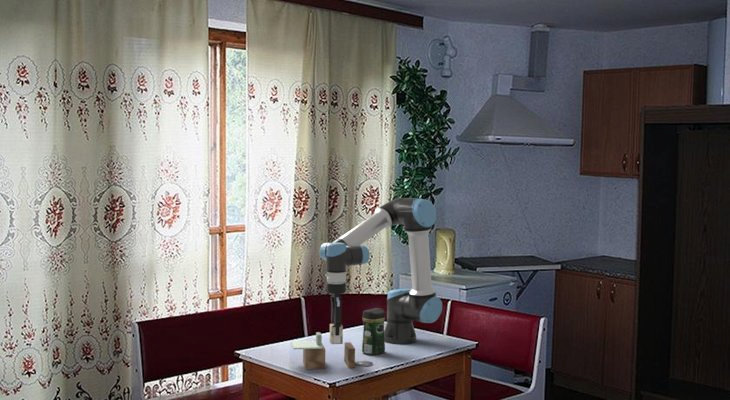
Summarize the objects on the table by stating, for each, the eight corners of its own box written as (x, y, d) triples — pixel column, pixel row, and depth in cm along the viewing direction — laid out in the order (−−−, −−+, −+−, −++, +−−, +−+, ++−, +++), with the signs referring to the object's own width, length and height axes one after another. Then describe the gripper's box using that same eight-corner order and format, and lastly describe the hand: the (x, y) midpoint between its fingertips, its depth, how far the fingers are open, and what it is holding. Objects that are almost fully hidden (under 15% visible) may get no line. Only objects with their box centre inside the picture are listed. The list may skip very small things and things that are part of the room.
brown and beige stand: (350, 360, 315) (350, 342, 315) (354, 367, 304) (355, 348, 304) (302, 362, 312) (303, 343, 312) (305, 369, 301) (305, 349, 301)
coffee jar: (373, 349, 336) (374, 306, 335) (387, 352, 330) (388, 308, 329) (358, 353, 328) (359, 308, 328) (372, 356, 323) (373, 311, 322)
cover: (319, 342, 313) (319, 330, 313) (322, 348, 302) (322, 336, 301) (291, 342, 311) (291, 331, 311) (293, 349, 300) (293, 337, 299)
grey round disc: (371, 361, 314) (371, 360, 314) (374, 366, 308) (374, 365, 308) (353, 362, 313) (353, 361, 313) (356, 366, 306) (356, 365, 306)
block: (341, 341, 311) (341, 323, 311) (342, 343, 307) (342, 326, 306) (329, 341, 310) (329, 323, 310) (331, 344, 306) (331, 326, 305)
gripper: (324, 279, 315) (323, 336, 316) (329, 286, 298) (329, 347, 299) (342, 278, 316) (342, 336, 318) (349, 286, 299) (348, 346, 300)
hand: (336, 341), depth 308 cm, fingers closed on block, 4 cm apart
